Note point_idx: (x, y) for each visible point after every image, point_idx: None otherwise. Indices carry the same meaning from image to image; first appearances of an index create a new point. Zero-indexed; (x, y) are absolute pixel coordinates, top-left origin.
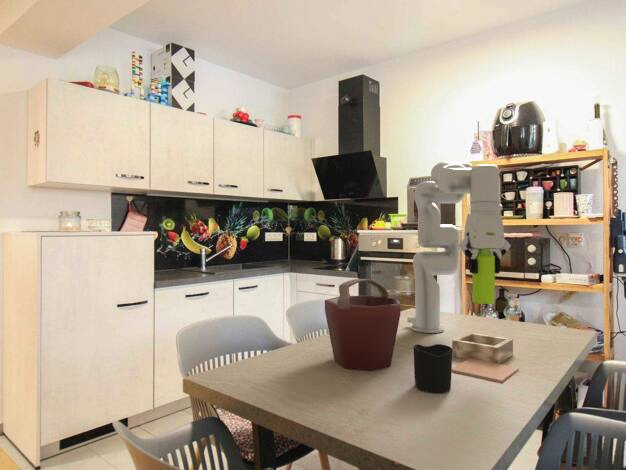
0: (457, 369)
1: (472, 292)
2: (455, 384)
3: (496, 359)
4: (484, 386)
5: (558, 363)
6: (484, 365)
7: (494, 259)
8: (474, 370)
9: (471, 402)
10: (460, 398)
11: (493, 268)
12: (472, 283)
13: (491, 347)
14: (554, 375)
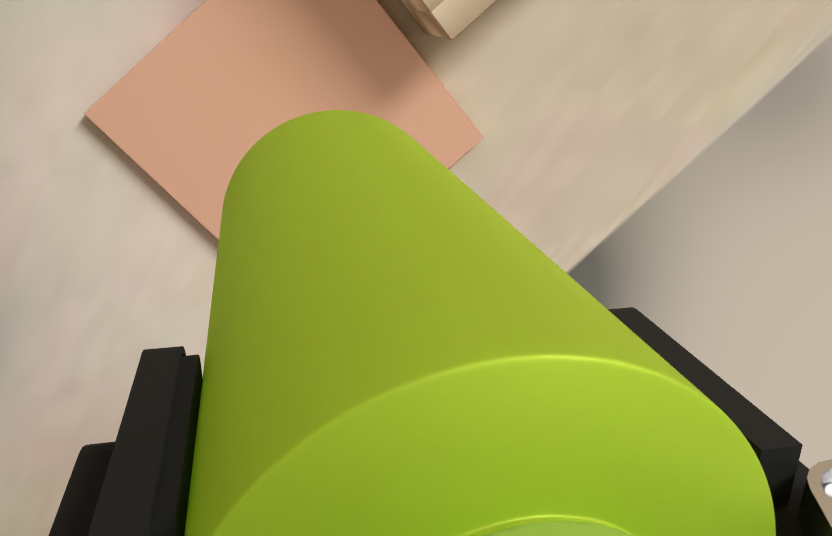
0: (127, 125)
1: (225, 214)
2: (44, 309)
3: (427, 29)
4: (181, 340)
5: (743, 59)
6: (323, 72)
7: None
8: (221, 154)
9: (42, 498)
10: (8, 462)
11: None
12: (221, 254)
13: (425, 4)
14: (584, 230)
